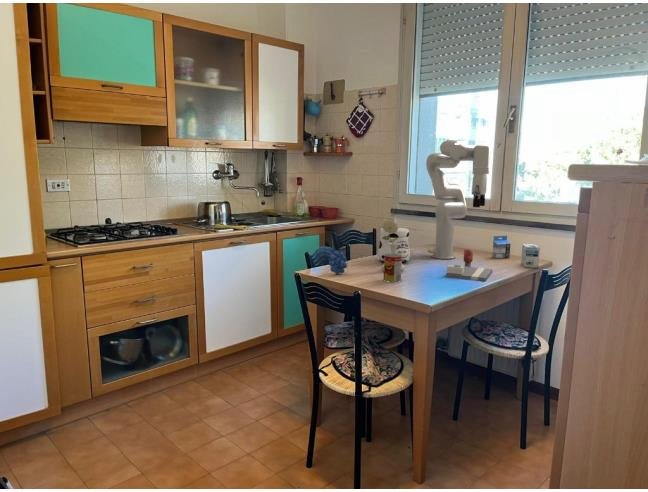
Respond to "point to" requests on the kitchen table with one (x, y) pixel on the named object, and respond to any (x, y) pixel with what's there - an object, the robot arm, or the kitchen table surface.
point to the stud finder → (455, 269)
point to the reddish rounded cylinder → (468, 257)
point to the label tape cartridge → (501, 247)
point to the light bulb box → (530, 255)
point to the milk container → (402, 240)
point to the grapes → (338, 262)
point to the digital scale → (472, 273)
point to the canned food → (392, 267)
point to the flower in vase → (390, 228)
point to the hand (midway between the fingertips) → (478, 206)
